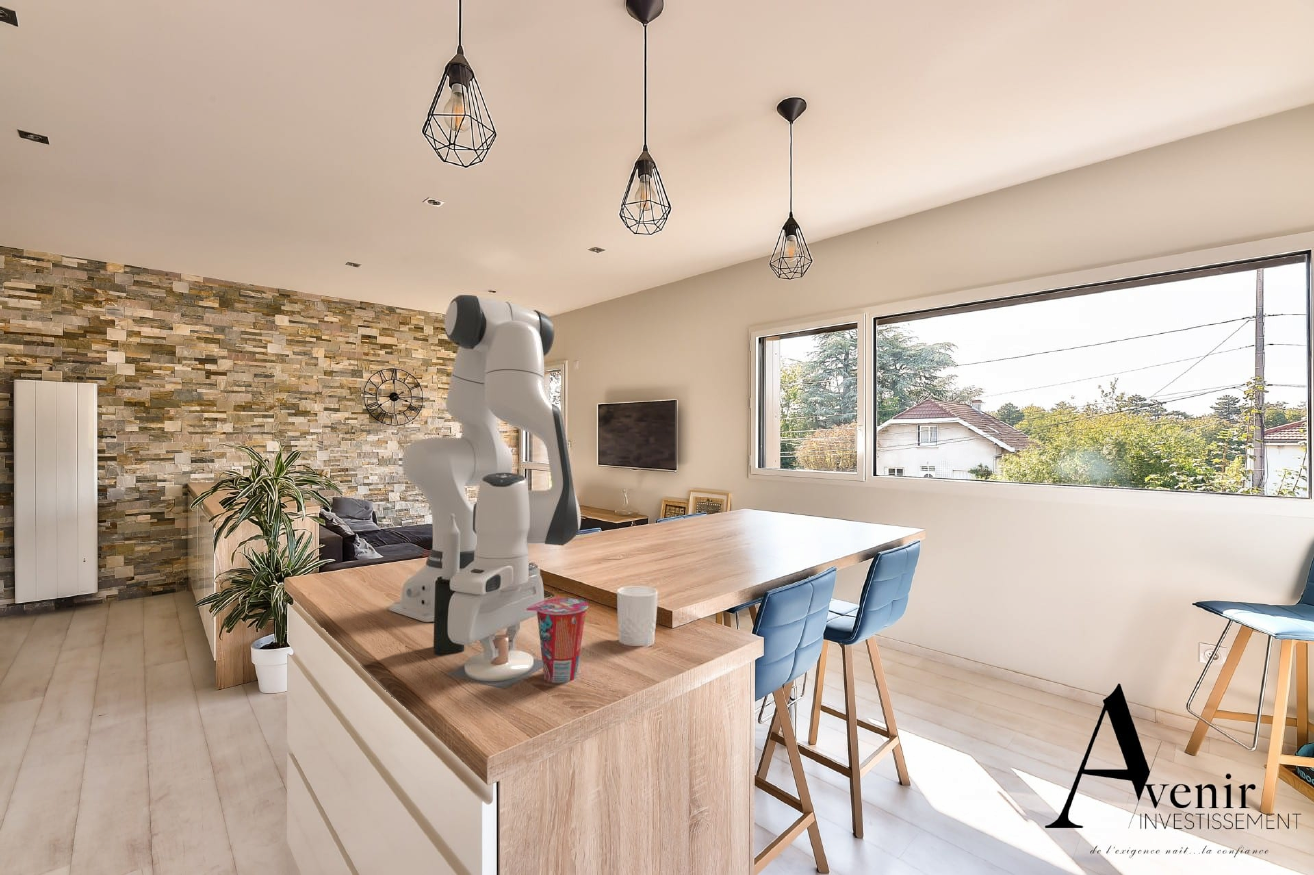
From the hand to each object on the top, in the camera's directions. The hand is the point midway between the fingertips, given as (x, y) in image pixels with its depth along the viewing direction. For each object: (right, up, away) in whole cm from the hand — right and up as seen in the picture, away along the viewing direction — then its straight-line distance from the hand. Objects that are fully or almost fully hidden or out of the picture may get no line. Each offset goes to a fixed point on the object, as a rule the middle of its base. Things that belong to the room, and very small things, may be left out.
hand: (499, 655), depth 94 cm
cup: (+10, -3, -3) cm, 11 cm away
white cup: (+22, -4, +15) cm, 27 cm away
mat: (0, -3, 0) cm, 3 cm away
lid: (0, -2, 0) cm, 2 cm away
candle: (-11, -3, +8) cm, 15 cm away
